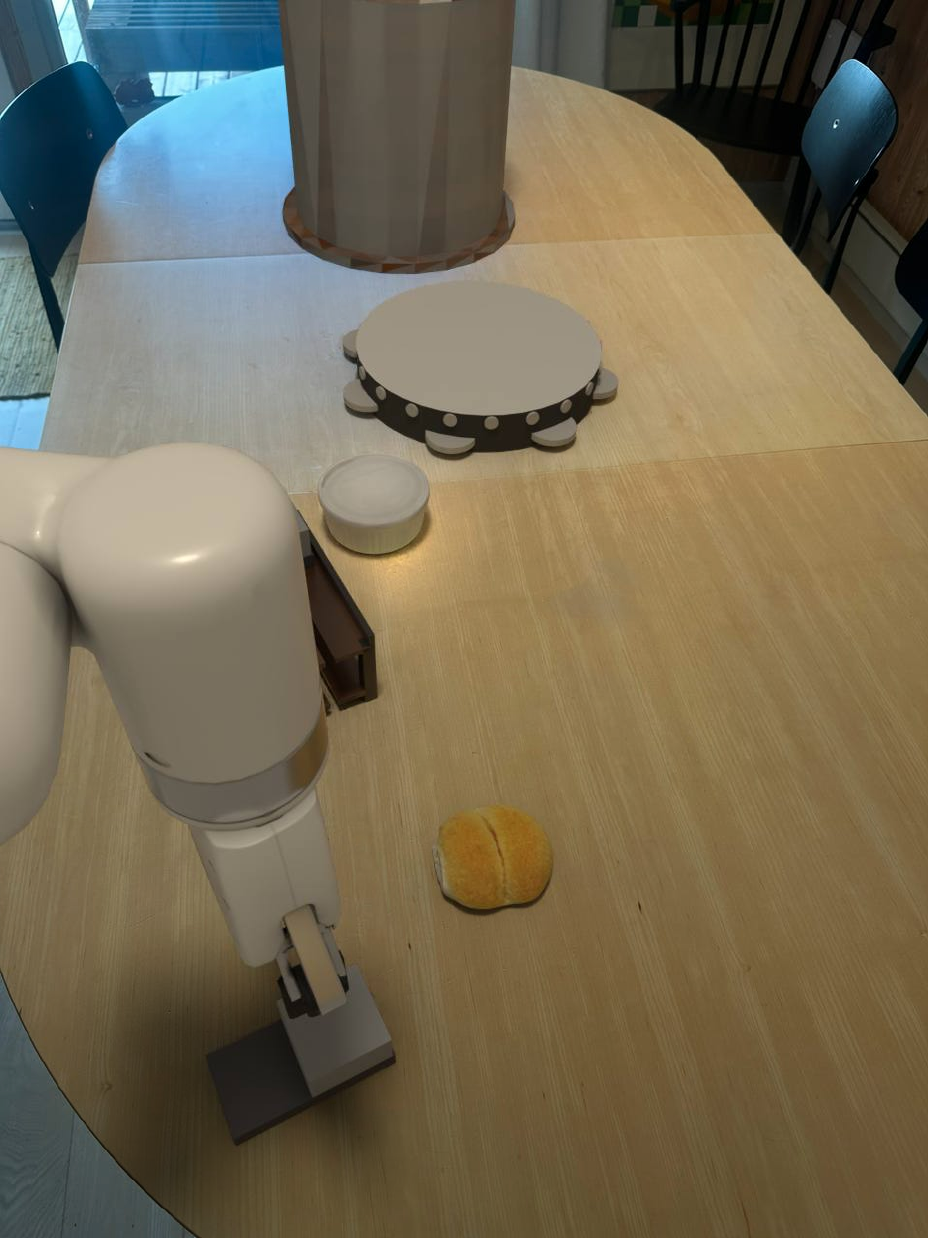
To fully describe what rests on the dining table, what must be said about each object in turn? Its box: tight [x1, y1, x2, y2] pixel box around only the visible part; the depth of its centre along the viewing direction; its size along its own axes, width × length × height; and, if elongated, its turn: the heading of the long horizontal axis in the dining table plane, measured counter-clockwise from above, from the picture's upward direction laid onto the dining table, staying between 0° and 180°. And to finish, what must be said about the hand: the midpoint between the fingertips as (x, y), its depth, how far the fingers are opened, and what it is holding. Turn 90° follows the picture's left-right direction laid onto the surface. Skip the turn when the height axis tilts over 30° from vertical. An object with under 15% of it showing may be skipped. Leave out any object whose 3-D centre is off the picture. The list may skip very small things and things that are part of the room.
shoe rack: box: [297, 509, 379, 711], centre depth 84 cm, size 12×17×8 cm
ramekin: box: [317, 452, 431, 555], centre depth 98 cm, size 11×11×5 cm
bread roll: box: [432, 803, 554, 910], centre depth 73 cm, size 8×9×4 cm
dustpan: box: [204, 962, 397, 1146], centre depth 62 cm, size 11×6×4 cm, turn 118°
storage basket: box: [277, 0, 517, 275], centre depth 135 cm, size 35×35×32 cm
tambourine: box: [342, 280, 619, 455], centre depth 116 cm, size 34×33×5 cm
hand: (283, 919), depth 51 cm, fingers open, 9 cm apart
